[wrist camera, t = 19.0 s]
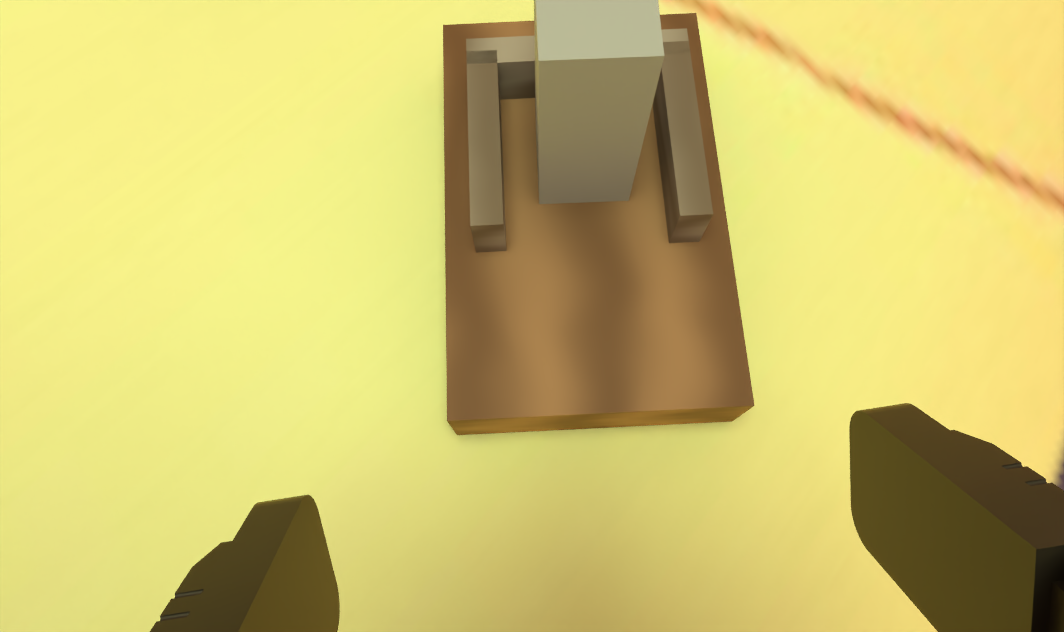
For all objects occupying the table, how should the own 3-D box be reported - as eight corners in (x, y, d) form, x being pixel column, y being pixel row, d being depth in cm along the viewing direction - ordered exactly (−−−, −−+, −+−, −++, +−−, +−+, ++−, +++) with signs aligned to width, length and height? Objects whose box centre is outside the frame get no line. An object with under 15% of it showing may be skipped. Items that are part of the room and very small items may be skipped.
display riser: (456, 434, 36) (438, 407, 30) (451, 71, 43) (435, -17, 37) (731, 421, 36) (774, 391, 30) (682, 60, 43) (708, -29, 37)
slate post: (539, 204, 36) (538, 60, 26) (535, 126, 37) (533, -39, 27) (628, 200, 36) (664, 55, 26) (621, 123, 37) (652, -44, 27)
